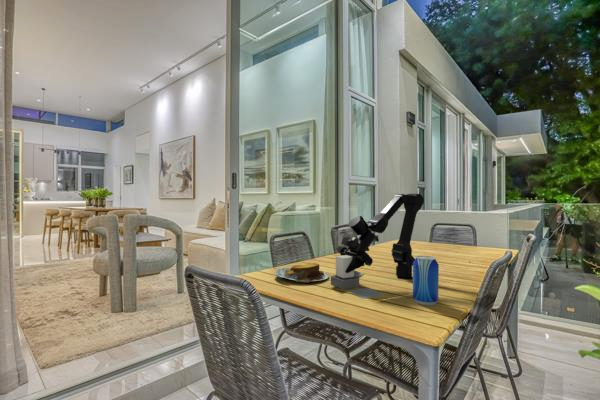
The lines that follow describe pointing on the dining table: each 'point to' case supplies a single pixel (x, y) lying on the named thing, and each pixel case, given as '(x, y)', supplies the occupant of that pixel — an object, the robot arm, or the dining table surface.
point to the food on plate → (302, 273)
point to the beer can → (425, 280)
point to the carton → (346, 281)
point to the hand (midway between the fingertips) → (342, 271)
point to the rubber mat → (365, 293)
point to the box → (343, 267)
